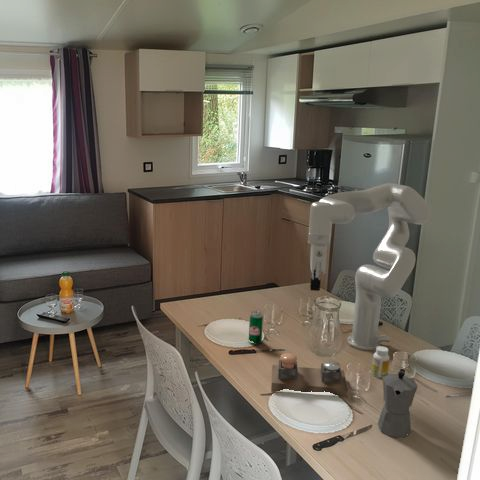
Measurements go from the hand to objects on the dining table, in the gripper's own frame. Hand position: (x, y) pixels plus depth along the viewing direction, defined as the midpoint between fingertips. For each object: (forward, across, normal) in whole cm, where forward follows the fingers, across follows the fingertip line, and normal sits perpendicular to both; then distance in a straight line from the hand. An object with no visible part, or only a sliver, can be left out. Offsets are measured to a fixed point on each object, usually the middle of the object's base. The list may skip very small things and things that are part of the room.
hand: (314, 289), depth 186 cm
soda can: (+27, +12, +20) cm, 36 cm away
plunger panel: (+27, -17, +1) cm, 32 cm away
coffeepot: (+27, -37, -23) cm, 51 cm away
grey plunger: (+24, -17, -6) cm, 30 cm away
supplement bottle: (+27, -6, -24) cm, 37 cm away
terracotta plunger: (+22, -17, +8) cm, 29 cm away
